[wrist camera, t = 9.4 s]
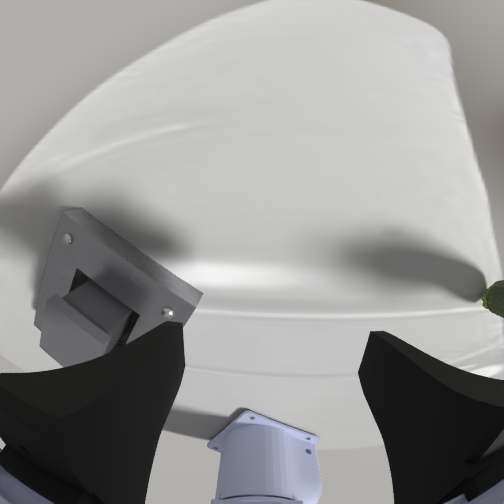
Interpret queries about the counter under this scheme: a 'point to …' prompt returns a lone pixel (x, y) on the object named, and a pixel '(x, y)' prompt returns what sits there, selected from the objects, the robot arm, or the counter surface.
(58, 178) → the counter surface
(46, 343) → the plug
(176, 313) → the socket plate
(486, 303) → the vegetable
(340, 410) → the counter surface
